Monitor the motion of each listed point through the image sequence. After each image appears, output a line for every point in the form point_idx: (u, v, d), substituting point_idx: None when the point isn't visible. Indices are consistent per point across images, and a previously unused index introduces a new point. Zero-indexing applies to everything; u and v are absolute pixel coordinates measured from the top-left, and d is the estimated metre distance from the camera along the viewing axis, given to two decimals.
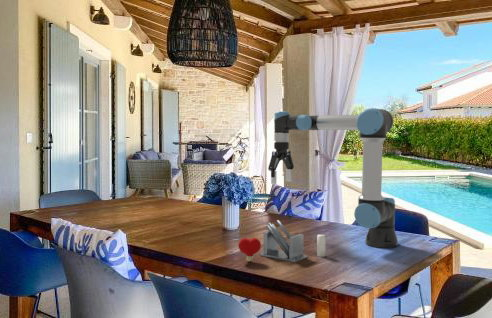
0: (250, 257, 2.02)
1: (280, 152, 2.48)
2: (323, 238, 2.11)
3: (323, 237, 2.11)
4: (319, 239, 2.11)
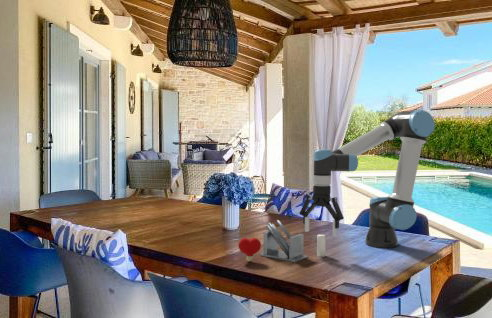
0: (250, 257, 2.02)
1: (315, 197, 2.12)
2: (323, 238, 2.11)
3: (323, 237, 2.11)
4: (319, 239, 2.11)
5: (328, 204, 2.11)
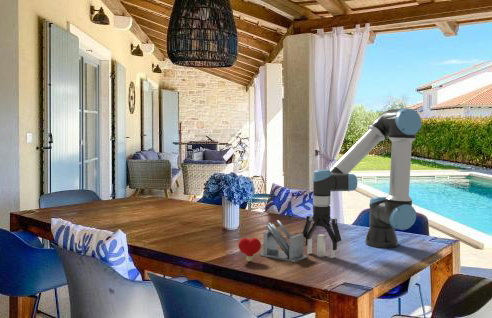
0: (250, 257, 2.02)
1: (315, 217, 2.13)
2: (323, 238, 2.11)
3: (323, 237, 2.11)
4: (319, 239, 2.11)
5: (327, 224, 2.12)
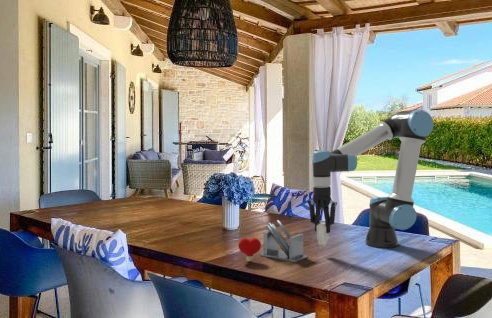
0: (250, 257, 2.02)
1: (315, 198, 2.13)
2: None
3: (324, 225, 2.11)
4: (320, 227, 2.11)
5: None
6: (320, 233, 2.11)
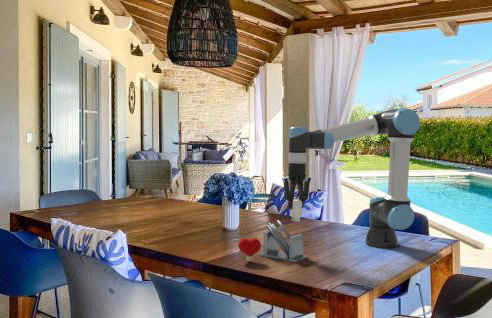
0: (250, 257, 2.02)
1: (292, 174, 2.09)
2: None
3: (300, 201, 2.12)
4: (298, 204, 2.10)
5: None
6: (297, 209, 2.10)
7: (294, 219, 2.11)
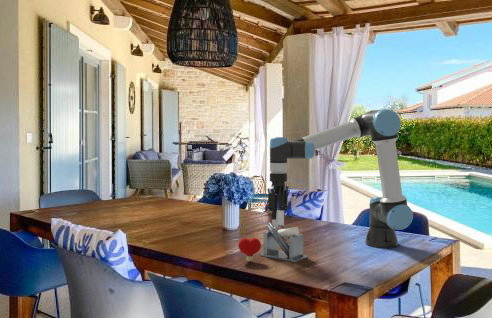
0: (250, 257, 2.02)
1: (276, 185, 2.09)
2: None
3: None
4: (294, 235, 2.08)
5: None
6: None
7: None
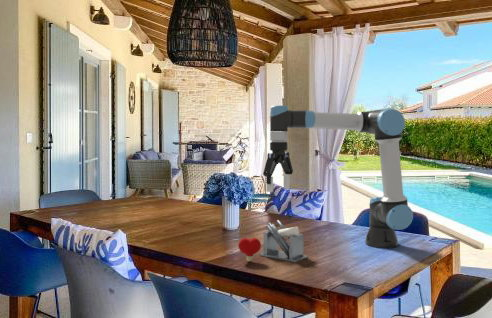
0: (250, 257, 2.02)
1: (277, 154, 2.08)
2: None
3: None
4: (294, 235, 2.08)
5: None
6: None
7: None
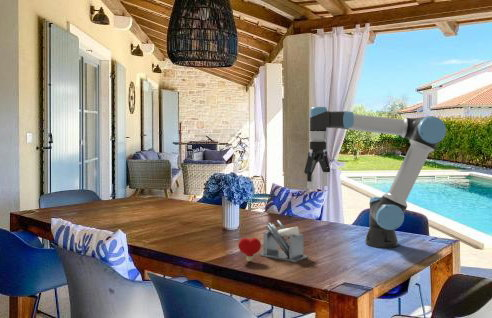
0: (250, 257, 2.02)
1: (317, 153, 2.19)
2: None
3: None
4: (294, 235, 2.08)
5: None
6: None
7: None
